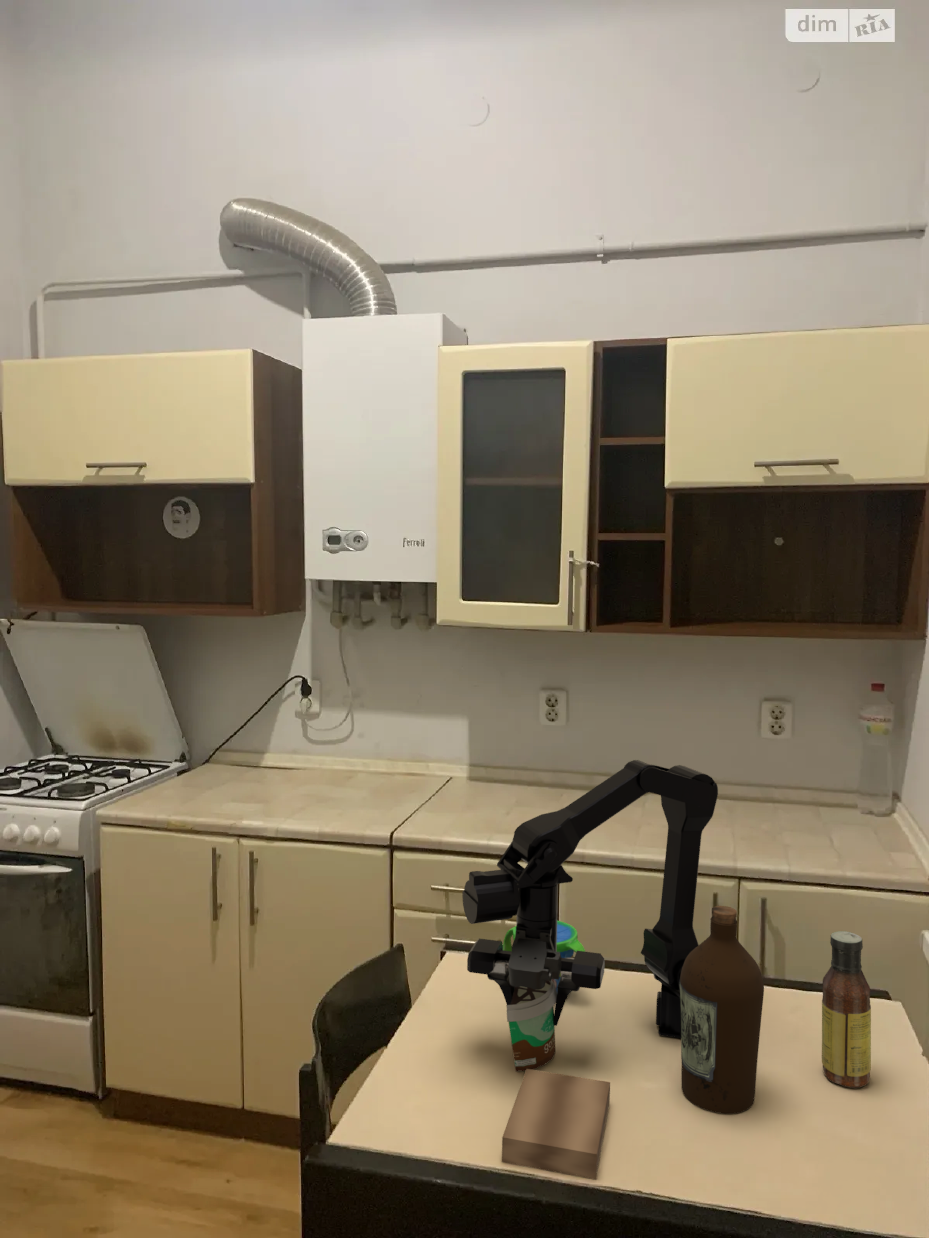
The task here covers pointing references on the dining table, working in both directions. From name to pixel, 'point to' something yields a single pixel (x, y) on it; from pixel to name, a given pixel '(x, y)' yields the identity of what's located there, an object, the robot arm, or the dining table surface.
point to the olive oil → (720, 1019)
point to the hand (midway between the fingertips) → (534, 1021)
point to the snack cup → (565, 942)
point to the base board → (557, 1124)
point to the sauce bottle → (846, 1014)
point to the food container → (532, 1026)
